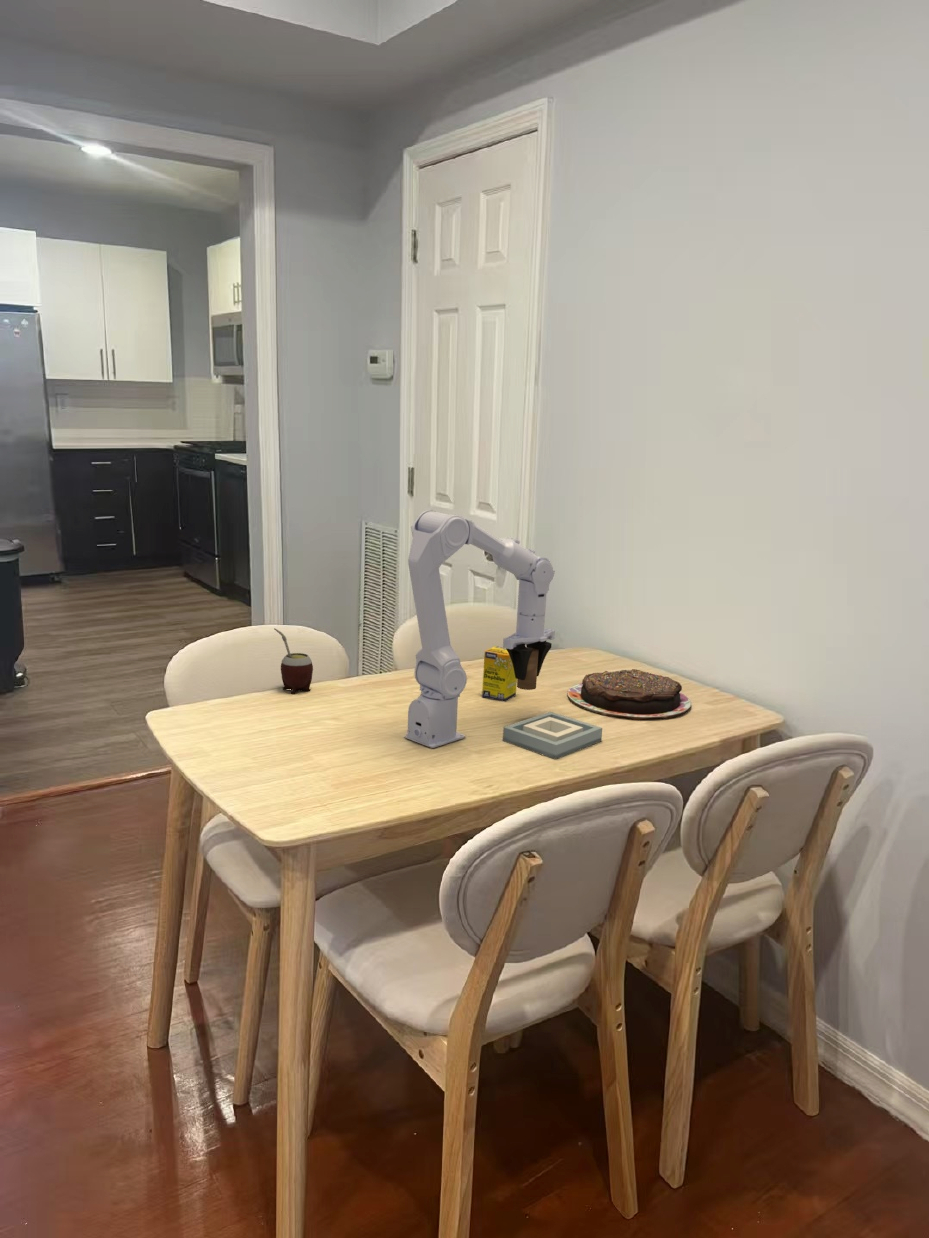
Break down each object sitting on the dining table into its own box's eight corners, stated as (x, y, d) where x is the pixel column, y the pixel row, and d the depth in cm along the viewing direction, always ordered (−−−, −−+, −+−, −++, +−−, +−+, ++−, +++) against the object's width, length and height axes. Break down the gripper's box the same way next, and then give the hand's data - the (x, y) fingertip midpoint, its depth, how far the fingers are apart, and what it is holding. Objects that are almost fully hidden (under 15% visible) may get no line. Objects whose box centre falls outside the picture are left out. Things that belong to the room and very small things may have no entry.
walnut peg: (527, 690, 187) (530, 653, 185) (513, 686, 190) (515, 649, 188) (539, 687, 190) (542, 650, 188) (525, 683, 192) (527, 646, 191)
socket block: (556, 747, 173) (557, 736, 173) (522, 736, 179) (523, 725, 178) (582, 738, 179) (583, 727, 179) (548, 727, 185) (549, 716, 184)
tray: (555, 759, 169) (556, 745, 169) (502, 740, 178) (503, 727, 177) (601, 741, 180) (602, 727, 180) (549, 724, 189) (550, 711, 188)
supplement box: (481, 697, 205) (483, 650, 203) (493, 691, 210) (495, 645, 208) (505, 702, 202) (508, 654, 200) (516, 695, 208) (519, 649, 205)
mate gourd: (316, 686, 207) (316, 622, 204) (306, 697, 199) (307, 630, 196) (284, 684, 208) (284, 620, 204) (273, 694, 200) (273, 628, 197)
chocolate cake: (541, 698, 208) (543, 670, 207) (615, 678, 227) (617, 653, 226) (643, 731, 188) (645, 701, 187) (714, 706, 207) (717, 679, 206)
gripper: (523, 621, 179) (519, 687, 181) (568, 612, 189) (563, 675, 192) (496, 615, 183) (493, 679, 186) (541, 606, 194) (537, 668, 197)
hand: (527, 677), depth 189 cm, fingers closed on walnut peg, 4 cm apart
